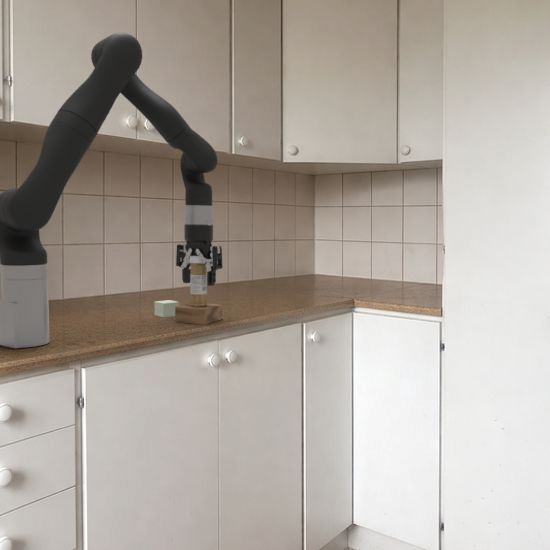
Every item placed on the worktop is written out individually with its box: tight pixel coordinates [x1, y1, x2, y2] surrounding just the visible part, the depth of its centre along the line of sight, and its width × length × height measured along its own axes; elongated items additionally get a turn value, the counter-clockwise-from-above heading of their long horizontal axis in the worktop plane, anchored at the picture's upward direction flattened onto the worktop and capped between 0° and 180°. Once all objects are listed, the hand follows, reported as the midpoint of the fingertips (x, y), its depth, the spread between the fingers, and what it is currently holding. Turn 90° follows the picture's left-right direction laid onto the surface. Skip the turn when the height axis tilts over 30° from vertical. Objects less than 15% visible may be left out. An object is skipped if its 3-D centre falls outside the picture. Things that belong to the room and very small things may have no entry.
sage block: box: [153, 299, 180, 318], centre depth 164 cm, size 5×5×4 cm
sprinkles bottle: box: [189, 256, 208, 307], centre depth 155 cm, size 5×5×14 cm
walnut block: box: [174, 303, 223, 326], centre depth 156 cm, size 9×9×4 cm
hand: (198, 284), depth 155 cm, fingers open, 8 cm apart
